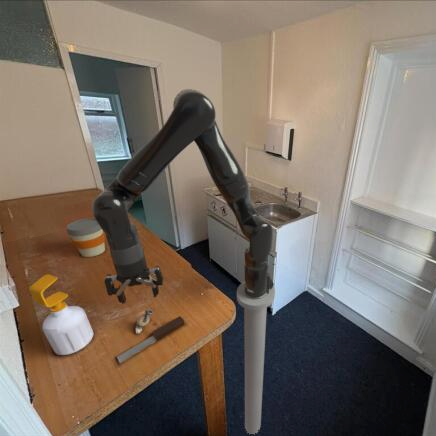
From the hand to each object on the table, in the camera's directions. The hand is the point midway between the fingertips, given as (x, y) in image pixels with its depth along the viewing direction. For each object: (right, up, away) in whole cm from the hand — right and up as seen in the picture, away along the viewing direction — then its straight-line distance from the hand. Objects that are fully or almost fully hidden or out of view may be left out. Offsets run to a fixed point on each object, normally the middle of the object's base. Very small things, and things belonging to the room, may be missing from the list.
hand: (140, 298), depth 73 cm
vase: (-1, -11, +5) cm, 12 cm away
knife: (+4, -13, +1) cm, 14 cm away
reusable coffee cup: (-48, +9, +38) cm, 62 cm away
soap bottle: (-19, -13, -2) cm, 23 cm away
